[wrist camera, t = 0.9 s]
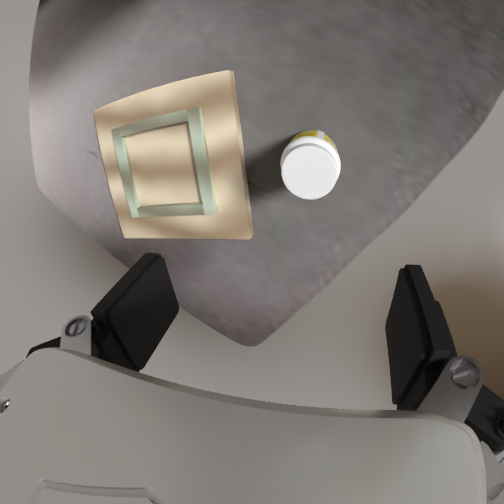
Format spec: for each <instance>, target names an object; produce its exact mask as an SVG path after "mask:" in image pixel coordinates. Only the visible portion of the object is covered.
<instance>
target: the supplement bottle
mask: <svg viewBox="0 0 504 504" xmlns="http://www.w3.org/2000/svg"><path fill="white" fill-rule="evenodd" d="M280 165H281V175H282V179H283V182H284V184H285V186H286V187H287V189H288V190H289V191H290V192H291V193H293V194H294V195H296V196H298V197H300V198H303V199H318V198H321V197H323V196H325V195H326V194H327V193H329V192H330V191H331V190H332V188H333V187H334V185H335V183H336V181H337V179H338V177H339V174H340V169H341V163H340V158H339V155H338V152H337V149H336V146H335V143H334V142H333V140H332V139H331V138H330V137H329V136H328V135H327V134H326V133H324V132H322V131H319V130H313V129H309V130H304V131H302V132H300V133H298V134H297V135H295V137H294V138H293V139H292V140H291V141H290V143H289V144H288V145H287V146H286V148H285V149H284V151H283V153H282V156H281V164H280Z"/></svg>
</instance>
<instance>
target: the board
mask: <svg viewBox="0 0 504 504" xmlns="http://www.w3.org/2000/svg"><path fill="white" fill-rule="evenodd" d="M93 111H94V117H95V123H96V128H97V134H98V139H99V144H100V149H101V154H102V158H103V163H104V167H105V171H106V175H107V179H108V183H109V187H110V191H111V195H112V198H113V202H114V205H115V209H116V212H117V216H118V219H119V222H120V226H121V229H122V232H123V235H124V238H191V239H251V237H252V235H253V234H254V231H253V223H252V215H251V206H250V198H249V190H248V182H247V174H246V166H245V157H244V149H243V141H242V133H241V125H240V117H239V109H238V101H237V93H236V85H235V77H234V71H230V70H226V71H221V72H216V73H211V74H206V75H201V76H197V77H192V78H188V79H184V80H180V81H177V82H173V83H169V84H166V85H162V86H159V87H155V88H152V89H149V90H146V91H143V92H140V93H137V94H134V95H131V96H128V97H125V98H123V99H120V100H117V101H115V102H112V103H110V104H107V105H105V106H102V107H100V108H97V109H95V110H93Z"/></svg>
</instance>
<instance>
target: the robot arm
mask: <svg viewBox="0 0 504 504" xmlns="http://www.w3.org/2000/svg"><path fill="white" fill-rule="evenodd" d="M178 311H179V304H178V301H177V298H176V295H175V292H174V289H173V286H172V283H171V280H170V277H169V273H168V270H167V267H166V264H165V260H164V258H163V257H161V255H160V254H158V253H146V254H144V255H143V256H142V257H141V258H140V259H139V260H138V262H137V263H136V264H135V265H134V266H133V267H132V268H131V269H130V270H129V271H128V272H127V273H126V274H125V275H124V276H123V277H122V278H121V279H120V280H119V281H118V282H117V283H116V284H115V286H114V287H113V288H112V289H111V290H110V291H109V292H108V293H107V294H106V295H105V296H104V297H103V299H102V300H101V301H100V302H99V303H98V304H97V305H96V306H95V307H94V309H93V310H92V311H91V314H92V316H93V320H92V321H91V319H90V318H89V317H88V316H85V315H80V316H76V317H74V318H72V319H71V320H69V321H68V322H67V323H66V324H65V325H64V327H63V329H62V334H61V337H58V338H55V339H53V340H50V341H48V342H45V343H42V344H40V345H38V346H35V347H33V348H31V349H30V351H29V353H28V355H27V357H26V359H25V360H23V361H21V362H20V363H18V364H17V365H15V366H14V367H12V368H11V369H9V370H8V371H6V372H5V373H4V374H2V375H1V376H0V504H504V400H503V399H501V398H500V397H499V396H498V395H496V394H495V393H494V392H492V391H491V390H489V389H488V388H487V387H485V386H484V385H483V380H484V375H483V371H482V368H481V366H480V365H479V364H478V362H477V361H475V360H474V359H473V358H471V357H468V356H463V355H460V356H457V353H456V349H455V346H454V343H453V340H452V337H451V334H450V331H449V328H448V325H447V322H446V319H445V316H444V313H443V311H442V308H441V306H440V304H439V302H438V301H435V299H434V297H433V294H432V292H431V289H430V287H429V284H428V282H427V279H426V277H425V274H424V272H423V270H422V268H421V266H420V265H405V267H404V268H401V269H400V270H399V274H398V279H397V283H396V287H395V291H394V295H393V300H392V303H391V307H390V310H389V314H388V317H387V321H386V327H385V328H386V329H385V330H386V338H387V346H388V355H389V364H390V375H391V387H392V388H391V389H392V402H393V404H397V410H356V409H335V408H319V407H307V406H296V405H286V404H279V403H271V402H264V401H257V400H251V399H245V398H239V397H234V396H229V395H224V394H219V393H214V392H209V391H205V390H201V389H196V388H192V387H188V386H184V385H180V384H177V383H173V382H169V381H166V380H162V379H159V378H155V377H152V376H148V375H145V374H142V373H139V371H140V370H141V369H143V368H144V367H145V365H146V363H147V362H148V360H149V358H150V357H151V355H152V354H153V352H154V350H155V349H156V347H157V346H158V344H159V342H160V341H161V339H162V337H163V336H164V334H165V333H166V331H167V330H168V328H169V326H170V325H171V323H172V322H173V320H174V319H175V317H176V315H177V314H178Z"/></svg>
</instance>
